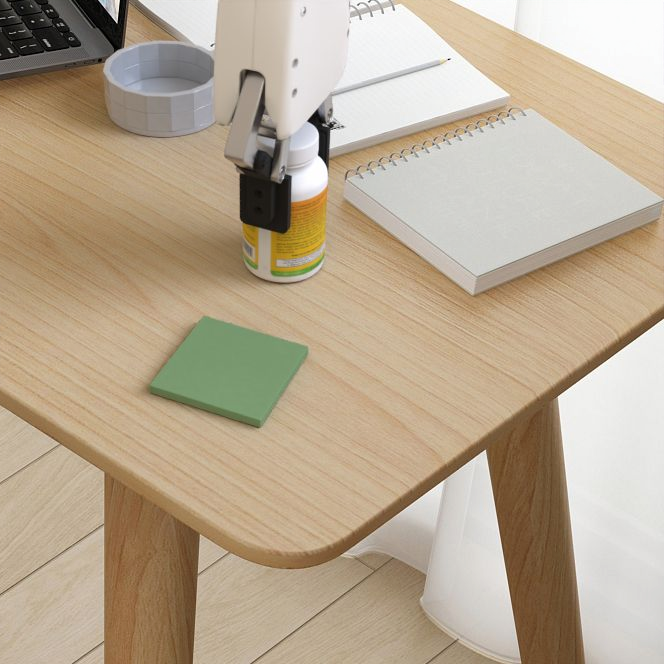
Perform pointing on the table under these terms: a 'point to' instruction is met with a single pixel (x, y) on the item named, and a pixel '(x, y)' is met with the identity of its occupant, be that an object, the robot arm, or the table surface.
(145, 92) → the bowl
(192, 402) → the green flat square slab
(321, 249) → the supplement bottle
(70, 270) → the table surface
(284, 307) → the table surface
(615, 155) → the table surface
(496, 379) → the table surface
